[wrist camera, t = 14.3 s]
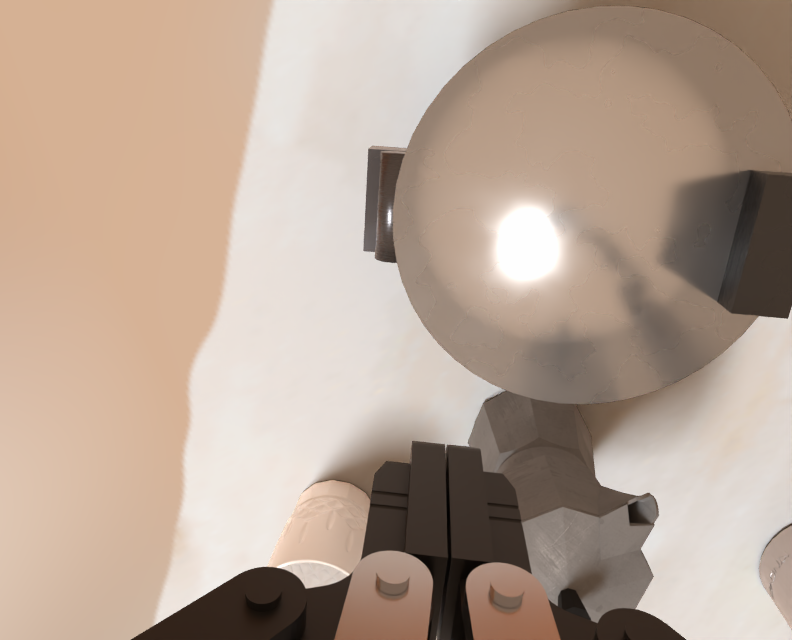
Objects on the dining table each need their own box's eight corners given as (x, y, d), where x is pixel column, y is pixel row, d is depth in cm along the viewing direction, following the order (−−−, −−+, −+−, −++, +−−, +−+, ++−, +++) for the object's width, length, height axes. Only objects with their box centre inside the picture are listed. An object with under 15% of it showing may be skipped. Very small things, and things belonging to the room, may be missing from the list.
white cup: (367, 464, 50) (349, 550, 40) (395, 542, 52) (384, 641, 43) (275, 483, 51) (238, 571, 42) (307, 559, 54) (278, 658, 44)
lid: (839, 23, 26) (888, 14, 23) (730, 406, 32) (758, 438, 29) (391, -3, 27) (382, -15, 24) (370, 370, 34) (361, 397, 31)
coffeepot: (543, 339, 45) (604, 486, 28) (635, 415, 47) (745, 597, 30) (408, 474, 50) (391, 670, 33) (496, 539, 51) (523, 758, 35)
